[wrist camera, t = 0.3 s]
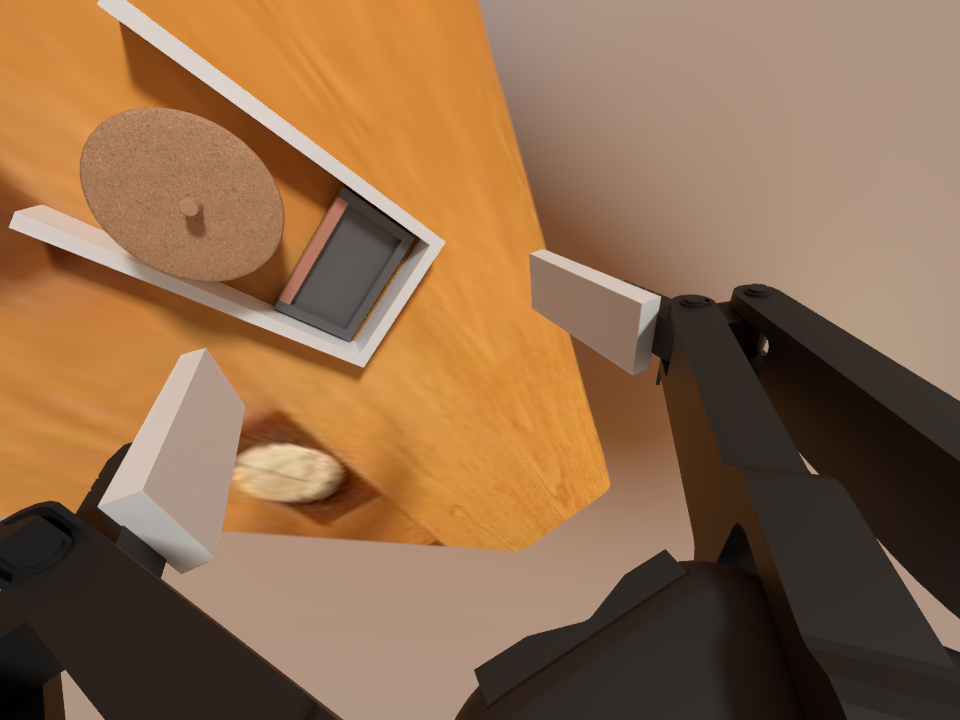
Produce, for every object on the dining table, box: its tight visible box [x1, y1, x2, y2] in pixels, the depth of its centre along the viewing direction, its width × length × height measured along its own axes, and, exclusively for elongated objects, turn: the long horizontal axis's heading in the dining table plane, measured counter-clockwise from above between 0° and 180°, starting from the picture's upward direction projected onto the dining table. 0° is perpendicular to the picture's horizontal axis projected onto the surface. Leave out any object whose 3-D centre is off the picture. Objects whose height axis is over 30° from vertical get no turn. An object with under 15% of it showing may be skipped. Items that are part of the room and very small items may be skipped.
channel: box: [9, 0, 445, 368], centre depth 32 cm, size 26×16×4 cm, turn 51°
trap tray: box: [274, 186, 415, 341], centre depth 36 cm, size 8×13×2 cm, turn 141°
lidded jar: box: [80, 107, 284, 282], centre depth 26 cm, size 11×11×9 cm
